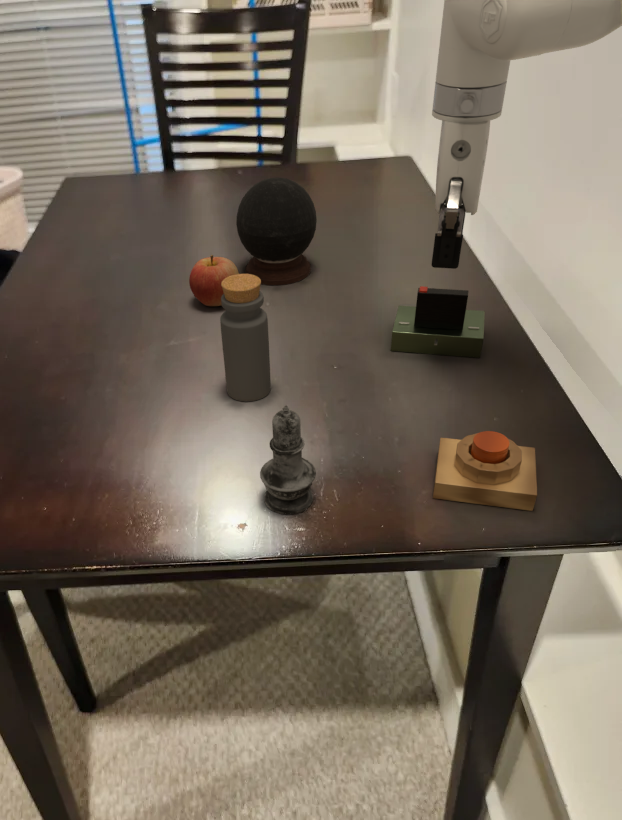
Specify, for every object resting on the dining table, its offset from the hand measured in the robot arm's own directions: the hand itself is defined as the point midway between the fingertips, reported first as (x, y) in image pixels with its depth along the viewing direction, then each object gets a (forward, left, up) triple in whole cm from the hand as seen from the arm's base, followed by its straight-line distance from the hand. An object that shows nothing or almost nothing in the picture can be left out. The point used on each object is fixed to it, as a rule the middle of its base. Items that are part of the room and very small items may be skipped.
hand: (447, 251), depth 88 cm
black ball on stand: (+28, -21, -14) cm, 38 cm away
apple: (+35, -8, -14) cm, 38 cm away
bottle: (+23, +16, -14) cm, 31 cm away
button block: (-7, +29, -13) cm, 32 cm away
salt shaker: (+13, +36, -14) cm, 40 cm away
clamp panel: (0, 0, -13) cm, 13 cm away
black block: (0, 0, -10) cm, 10 cm away
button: (-7, +29, -10) cm, 31 cm away
